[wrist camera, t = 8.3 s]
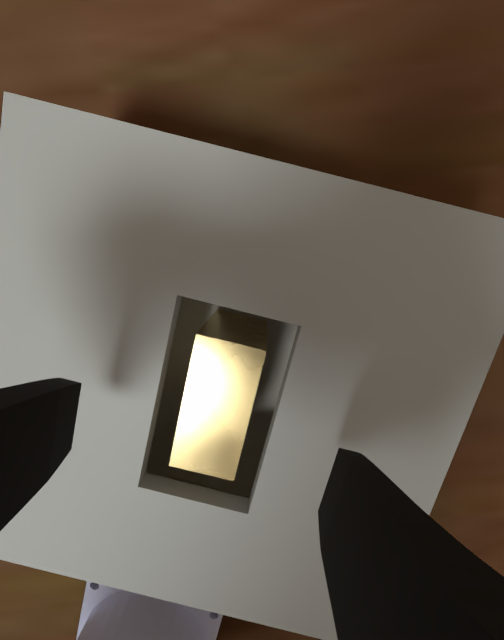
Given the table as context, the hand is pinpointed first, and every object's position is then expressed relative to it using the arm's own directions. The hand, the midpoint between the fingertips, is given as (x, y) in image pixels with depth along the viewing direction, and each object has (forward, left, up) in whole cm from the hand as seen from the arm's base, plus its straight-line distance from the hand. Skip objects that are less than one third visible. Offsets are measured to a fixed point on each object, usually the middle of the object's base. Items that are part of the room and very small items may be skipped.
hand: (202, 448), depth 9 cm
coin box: (0, 0, -8) cm, 8 cm away
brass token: (0, 0, -8) cm, 8 cm away
